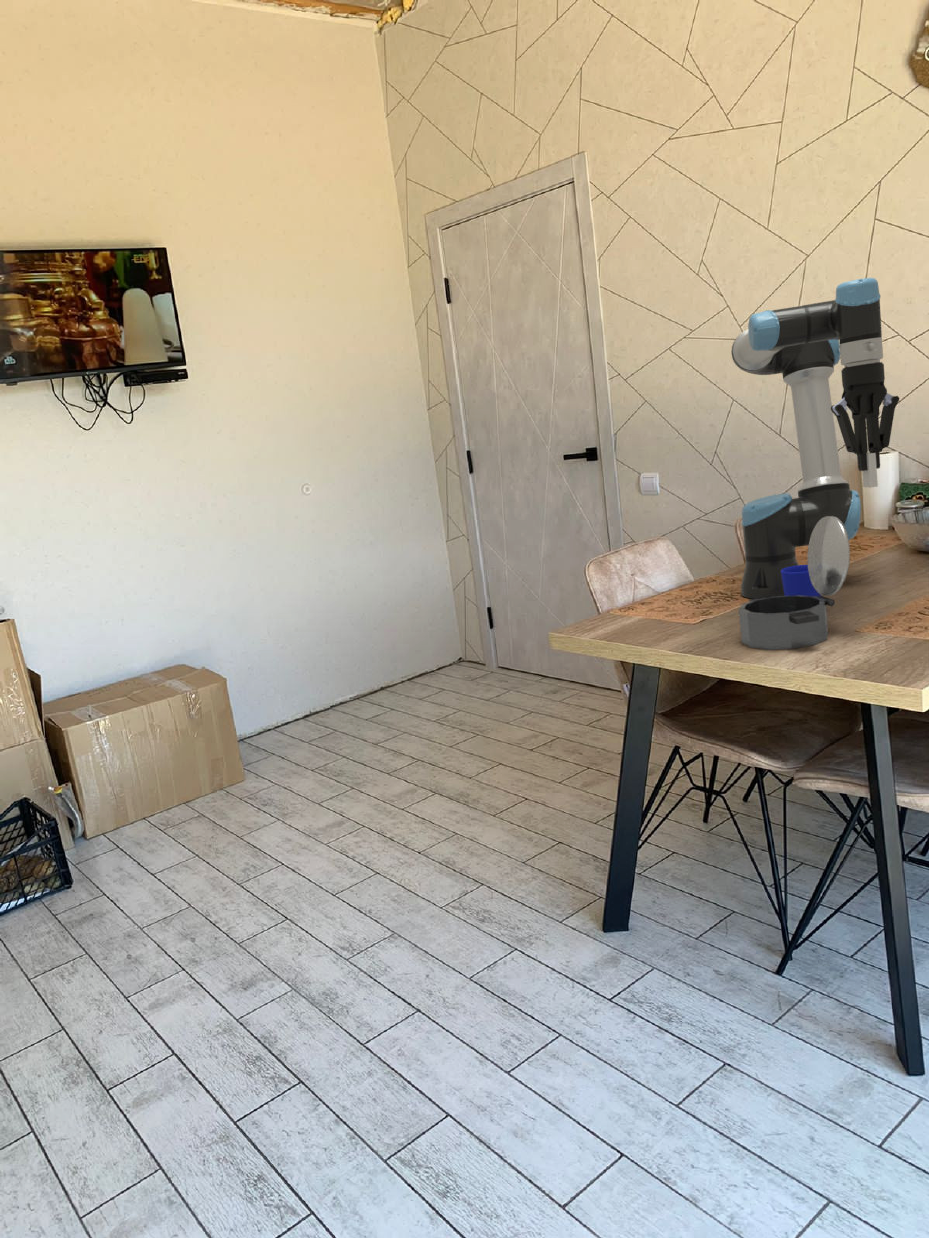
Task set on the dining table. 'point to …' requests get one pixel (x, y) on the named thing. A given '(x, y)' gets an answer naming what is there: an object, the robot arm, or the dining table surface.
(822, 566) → the lid
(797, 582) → the mug
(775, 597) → the pot
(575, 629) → the dining table surface
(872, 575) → the dining table surface
